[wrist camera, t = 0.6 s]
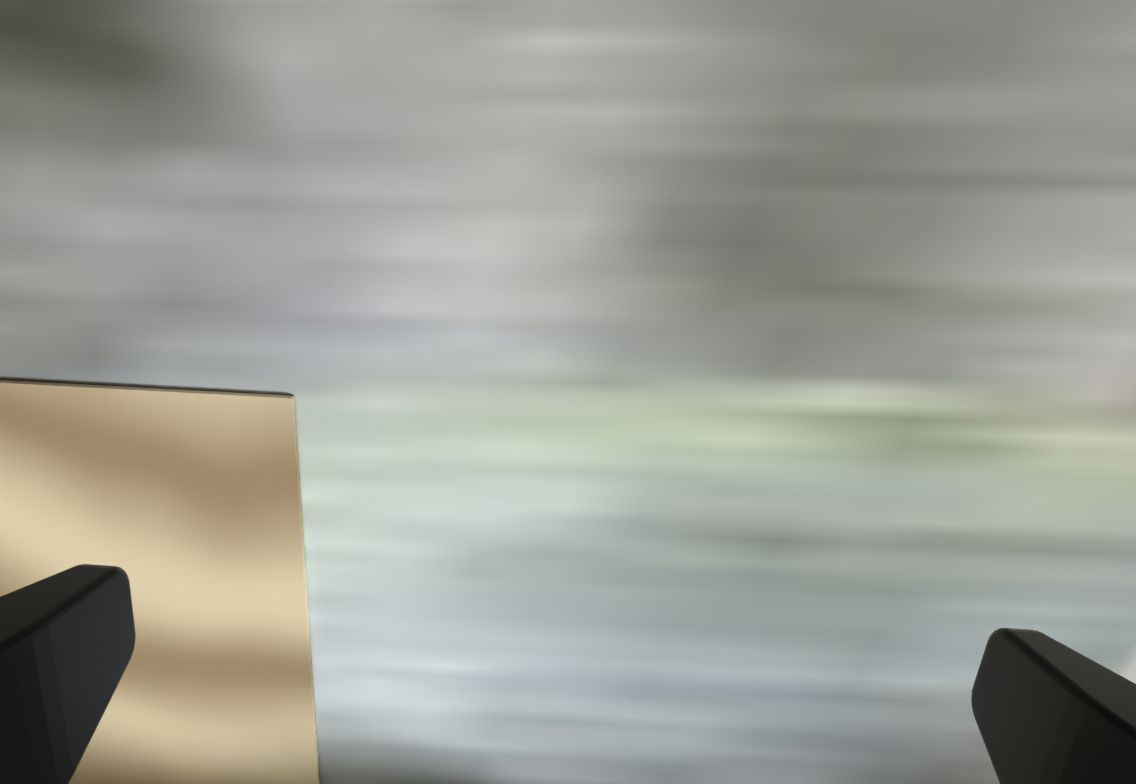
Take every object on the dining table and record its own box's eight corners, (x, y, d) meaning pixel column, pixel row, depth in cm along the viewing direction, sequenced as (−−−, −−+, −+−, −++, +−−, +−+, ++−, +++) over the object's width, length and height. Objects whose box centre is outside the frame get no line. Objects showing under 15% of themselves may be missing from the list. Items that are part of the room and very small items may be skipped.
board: (322, 822, 28) (320, 829, 28) (-206, 802, 27) (-213, 808, 27) (294, 395, 22) (291, 399, 22) (-372, 360, 22) (-382, 363, 21)
